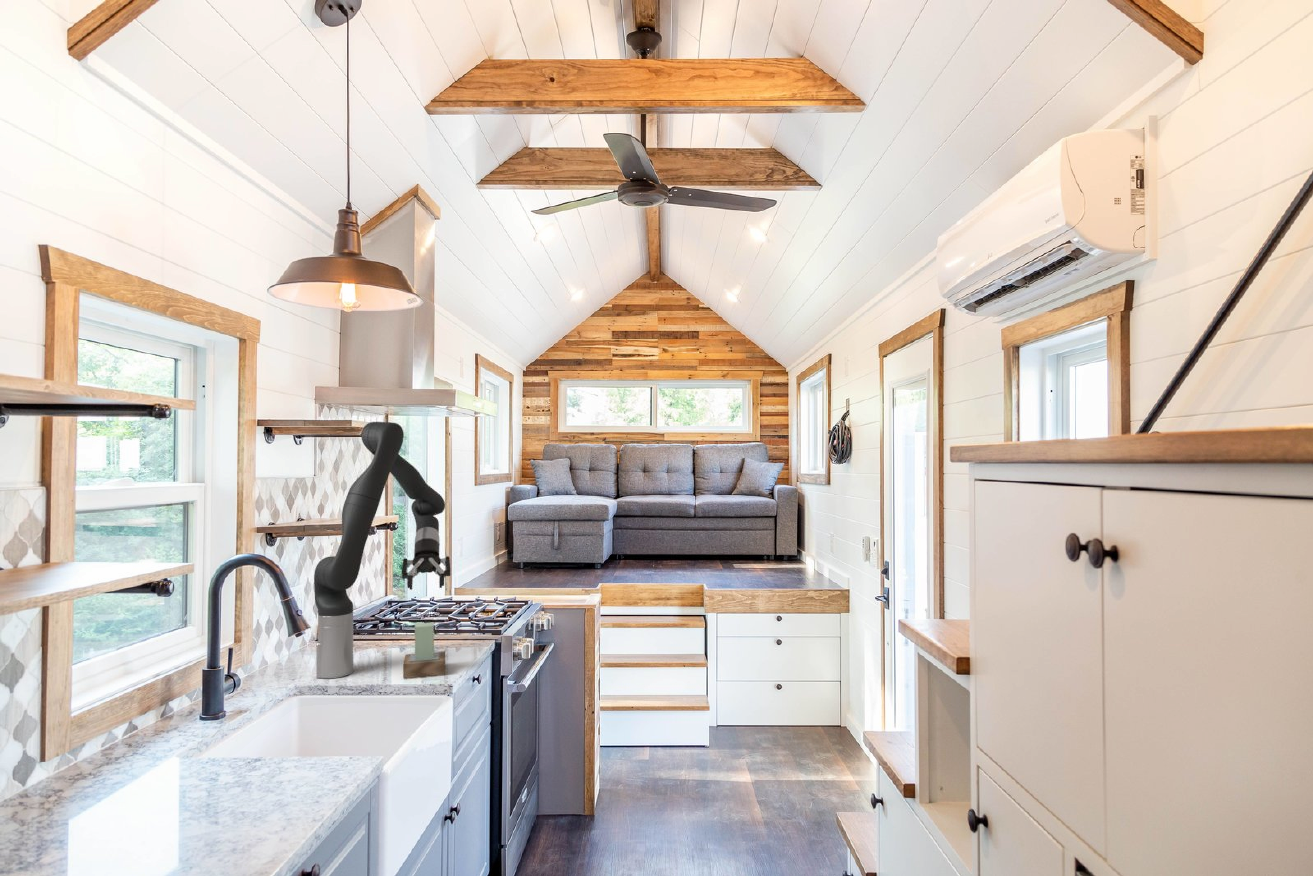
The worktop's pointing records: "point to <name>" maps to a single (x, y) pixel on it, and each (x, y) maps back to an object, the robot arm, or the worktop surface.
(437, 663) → the block
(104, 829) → the worktop surface
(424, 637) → the sage block
